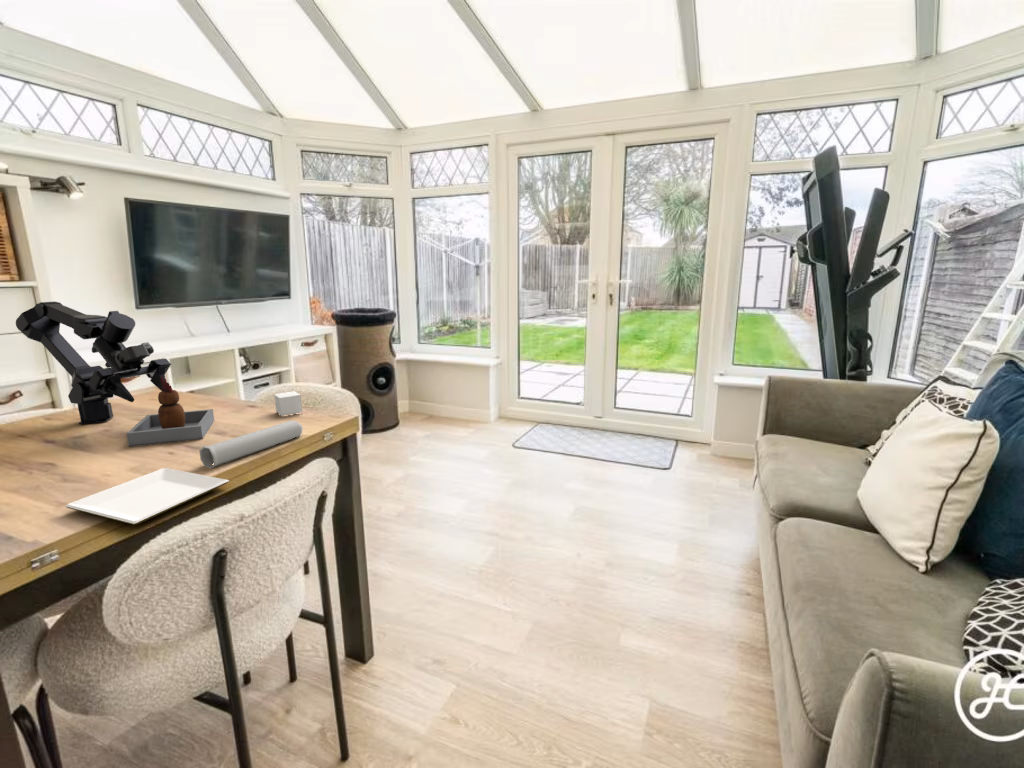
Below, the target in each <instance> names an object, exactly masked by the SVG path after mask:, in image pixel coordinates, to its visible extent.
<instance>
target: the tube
mask: <svg viewBox="0 0 1024 768" xmlns="http://www.w3.org/2000/svg"><path fill="white" fill-rule="evenodd" d="M303 429H304V427H303V425H302V424H301V423H300V422H299V421H295V420H288V421H285V422H283V423H279V424H275V425H272V426H269V427H265V428H263V429H259V430H256V431H252V432H250V433H249V432H248V433H246V434H243V435H239V436H236V437H233V438H230V439H226V440H223V441H220V442H216V443H213V444H210V445H203V446H202V447H201V449H199V458H200V459H199V460H200V462H201V463H202V465H203V466H204V467H205V468H208V469H213V468H215V467H218V466H221V465H223V463H224V464H226V462H227V463H229V462H232V461H235V460H237V459H241V458H243V456H244V457H246V456H249V455H252V454H255V453H257V451H258V452H261V451H263V450H266V449H269V448H271V446H272V447H274V445H275V446H277V445H276V444H278V445H280V444H283V443H285V442H284V441H286V442H288V441H287V440H289V441H291V440H290V439H292V440H294V439H293V438H295V437H297V438H299V437H300V436H301V435H302V433H303ZM298 436H299V437H298ZM295 439H296V438H295ZM282 442H283V443H282ZM279 443H280V444H279ZM268 447H269V448H268ZM265 448H266V449H265ZM260 450H261V451H260ZM254 452H255V453H254ZM240 457H241V458H240ZM213 463H214V465H212V464H213ZM220 464H221V465H220Z"/></svg>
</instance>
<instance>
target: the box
mask: <svg viewBox="0 0 1024 768" xmlns="http://www.w3.org/2000/svg"><path fill="white" fill-rule="evenodd" d="M184 413H185V426H184V427H177V428H167V429H162V427H161V425H160V422H159V417H158V413H153V414H147V415H145V416H144V417H143V418H141V420H140V421H139V422H137V424H135V425H133V427H132V428H131V429H130V430H128V431H127V432H126V434H125V435H126V439H127V444H128V447H129V448H132V447H140V446H141V445H142V446H150V445H149V444H152V445H158V443H161V444H168V442H170V443H177V442H178V441H180V442H187V441H186V440H189V441H196V440H195V439H198V440H203V439H204V438H205V436H206V435H207V433H208V432H207V431H209V430H210V428H211V427H212V425H213V424H214V422H215V416H214V409H211V408H210V409H209V408H208V409H200V410H199V409H197V410H189V411H188V410H187V411H184ZM213 421H214V422H213ZM212 423H213V424H212ZM210 426H211V427H210ZM208 429H209V430H208ZM205 434H206V435H205ZM203 437H204V438H203Z"/></svg>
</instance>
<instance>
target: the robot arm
mask: <svg viewBox="0 0 1024 768" xmlns="http://www.w3.org/2000/svg"><path fill="white" fill-rule="evenodd" d="M61 324H62V325H63V326H66V327H69V328H71V329H73V334H75V335H76V336H77V337H80V338H81V339H82V340H91V339H93V340H94V339H95V340H94V342H92V347H91V352H92V354H94V353H99V355H100V356H101V357H102V358H103V360H104V361H105V364H104V366H105V368H104V367H102V366H101V365H93V366H91V365H89V364H88V362H87V361H86V360H85V359H84V358H83V357H82V356H81V355H80V354H79V352H77V350H76V349H75V348H74V347H73V346H72V344H70V343H69V341H68V340H66V338H65V337H64V336H63V335H62V334H61V333H60V326H61ZM15 326H16V328H17V330H19V331H20V332H21V334H23V335H24V336H25V337H26V338H27V339H29V340H33V341H35V342H39V343H41V344H42V345H43V346H44V348H46V351H48V353H50V354H51V355H52V357H53V358H55V360H56V361H57V362H58V363H59V364H60V365H61V366H62V367H63V368H64V370H65V371H66V372H67V373H68V374H69V375H70V376H71V385H70V386H71V390H70V392H69V394H68V396H67V397H68V400H69V402H70V404H75V405H77V408H78V409H77V410H78V413H79V419H80V421H79V422H78V425H88V424H98V422H100V423H106V421H107V422H108V421H110V420H111V419H113V417H114V412H113V408H112V403H111V402H109V399H110V398H114V396H116V397H117V398H118V397H119V398H120V399H123V400H126V401H128V402H130V403H134V402H135V398H134V396H133V395H132V394H131V392H130V391H129V389H127V388H126V386H125V385H124V383H123V382H122V379H129V378H133V377H138V376H144V375H146V377H147V378H149V379H150V380H149V381H150V382H151V383H152V384H153V385H154V386H156V387H157V388H158V389H159V390H160V392H161V391H162V384H161V376H162V377H163V380H164V378H166V376H165V375H166V374H167V372H168V370H169V368H170V367H171V365H172V363H171V362H170V361H169V360H168V359H167V358H165V357H164V358H156V359H152V360H150V362H149V364H147V366H143V367H142V365H143V364H144V363H145V360H144V359H146V358H147V357H150V356H151V355H152V354H153V353H155V350H154V348H153V346H152V345H151V343H149V342H142V343H141V344H138V345H133V346H127V347H126V346H125V344H123V343H125V342H127V341H128V340H129V338H130V336H131V334H132V332H133V330H134V329H135V326H136V321H135V319H134V318H133V317H131V316H128V315H126V314H125V313H124V314H123V313H121V312H119V311H118V310H110V311H108V314H107V316H105V315H99V314H85V313H83V312H81V311H78V310H76V309H74V308H71V307H68V306H66V305H63V304H62V303H61V302H58V301H41V302H38V303H35V305H34V306H33V307H32V308H30V309H27V310H24V311H23V312H21V313H20V315H19V316H18V317H16V320H15Z"/></svg>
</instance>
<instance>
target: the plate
mask: <svg viewBox="0 0 1024 768" xmlns="http://www.w3.org/2000/svg"><path fill="white" fill-rule="evenodd" d="M229 481H230V480H229V479H225V478H219V477H215V476H209V475H203V474H199V473H194V472H190V471H189V472H188V471H183V470H178V469H173V468H168V467H162V468H160V469H158V470H155V471H152V472H149V473H147V474H144V475H141V476H139V477H136V478H133V479H131V480H128V481H126V482H123V483H120V484H118V485H114V486H113V487H109V488H107V489H104V490H101V491H99V492H95V493H93V494H91V495H88V496H85V497H83V498H80V499H77V500H75V501H72V502H70V503H67V504H66V505H65V508H67V509H71V510H74V511H77V512H82V513H87V514H90V515H94V516H98V517H102V518H105V519H108V520H109V519H110V520H114V521H117V522H121V523H125V524H128V525H133V526H135V525H138V524H141V523H143V522H146V521H148V520H150V519H152V518H154V517H157V516H158V515H159V516H160V515H161V514H163V513H165V512H167V511H169V510H172V509H175V508H177V507H178V506H179V507H180V506H181V505H183V504H185V503H187V502H189V501H192V500H194V499H197V498H199V497H201V496H203V495H205V494H208V493H209V492H211V491H214V490H216V489H218V488H221V487H222V486H225V485H227V484H228V483H229Z"/></svg>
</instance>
